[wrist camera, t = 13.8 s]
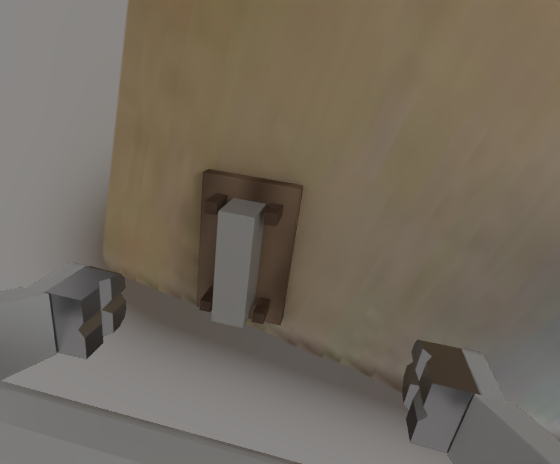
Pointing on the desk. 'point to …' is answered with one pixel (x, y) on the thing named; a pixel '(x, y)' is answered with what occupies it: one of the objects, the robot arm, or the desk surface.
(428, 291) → the desk surface
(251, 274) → the grey rectangular block
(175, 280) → the desk surface
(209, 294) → the footed brown board
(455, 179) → the desk surface
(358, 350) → the desk surface
